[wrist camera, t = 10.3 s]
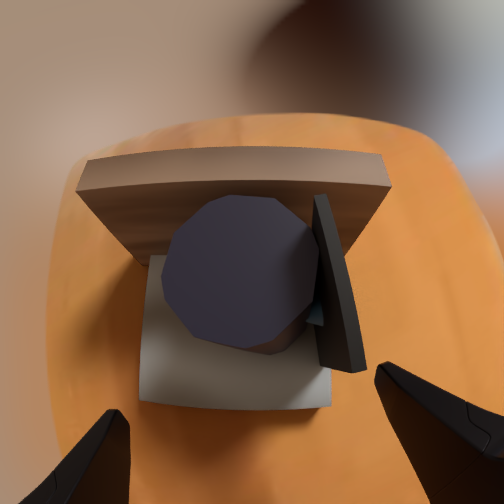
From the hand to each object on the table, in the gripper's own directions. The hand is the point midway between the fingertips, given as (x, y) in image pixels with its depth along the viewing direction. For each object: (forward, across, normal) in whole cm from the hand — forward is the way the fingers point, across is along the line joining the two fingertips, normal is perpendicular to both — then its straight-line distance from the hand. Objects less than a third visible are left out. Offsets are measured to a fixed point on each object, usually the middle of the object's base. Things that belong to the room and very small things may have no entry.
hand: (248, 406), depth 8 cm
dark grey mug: (+8, -1, +3) cm, 9 cm away
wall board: (+10, 0, +4) cm, 11 cm away
